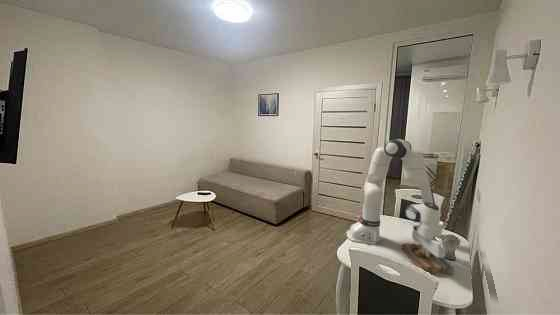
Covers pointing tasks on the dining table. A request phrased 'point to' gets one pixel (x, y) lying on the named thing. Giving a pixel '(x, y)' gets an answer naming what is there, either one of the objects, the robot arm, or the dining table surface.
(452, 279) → the dining table surface
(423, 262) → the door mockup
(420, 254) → the lock bar
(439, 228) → the white cup
